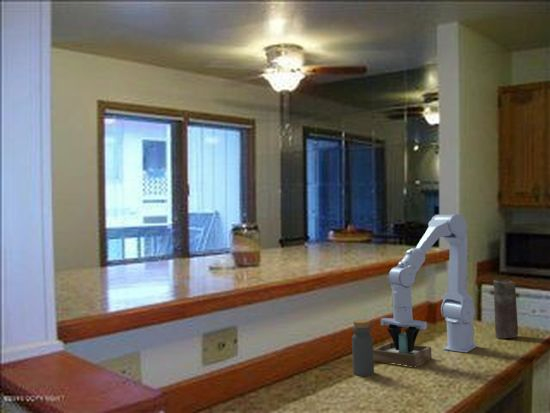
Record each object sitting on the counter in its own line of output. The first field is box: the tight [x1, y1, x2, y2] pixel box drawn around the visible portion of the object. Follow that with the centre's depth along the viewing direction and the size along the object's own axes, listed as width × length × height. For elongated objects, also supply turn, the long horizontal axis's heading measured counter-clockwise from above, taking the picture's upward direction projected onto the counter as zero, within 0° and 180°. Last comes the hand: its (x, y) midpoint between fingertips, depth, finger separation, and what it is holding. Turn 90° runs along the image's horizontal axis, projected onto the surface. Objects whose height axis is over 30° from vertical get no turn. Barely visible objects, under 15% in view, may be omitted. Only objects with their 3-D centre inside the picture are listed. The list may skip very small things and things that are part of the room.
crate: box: [373, 341, 433, 368], centre depth 175 cm, size 12×14×4 cm
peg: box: [398, 332, 411, 355], centre depth 174 cm, size 4×4×7 cm
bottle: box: [351, 318, 375, 377], centre depth 163 cm, size 6×6×15 cm
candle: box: [492, 278, 519, 340], centre depth 197 cm, size 8×7×20 cm
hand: (404, 350), depth 174 cm, fingers closed on peg, 4 cm apart
